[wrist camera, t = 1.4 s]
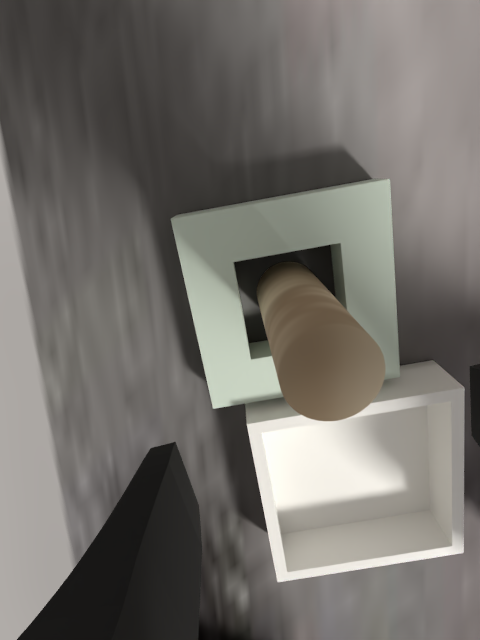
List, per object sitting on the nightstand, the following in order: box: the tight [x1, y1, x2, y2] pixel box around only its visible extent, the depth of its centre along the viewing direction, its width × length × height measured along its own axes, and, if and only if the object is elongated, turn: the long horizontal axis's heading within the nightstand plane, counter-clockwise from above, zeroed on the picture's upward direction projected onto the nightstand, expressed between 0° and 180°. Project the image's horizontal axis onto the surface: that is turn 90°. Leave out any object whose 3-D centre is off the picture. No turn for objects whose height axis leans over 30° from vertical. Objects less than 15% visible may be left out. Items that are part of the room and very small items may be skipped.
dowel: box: [257, 261, 385, 421], centre depth 16 cm, size 3×3×9 cm
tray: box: [245, 360, 465, 582], centre depth 22 cm, size 10×10×3 cm
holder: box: [171, 179, 400, 409], centre depth 19 cm, size 9×9×2 cm
